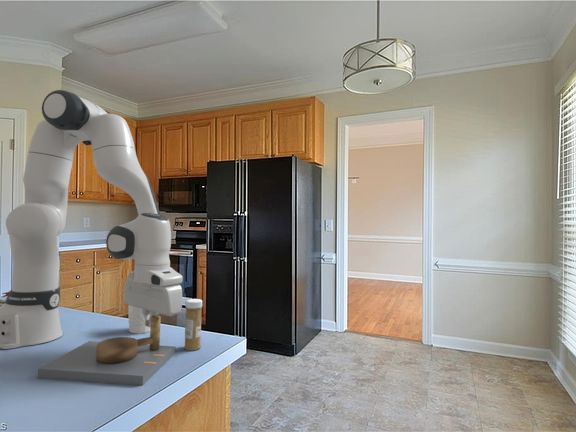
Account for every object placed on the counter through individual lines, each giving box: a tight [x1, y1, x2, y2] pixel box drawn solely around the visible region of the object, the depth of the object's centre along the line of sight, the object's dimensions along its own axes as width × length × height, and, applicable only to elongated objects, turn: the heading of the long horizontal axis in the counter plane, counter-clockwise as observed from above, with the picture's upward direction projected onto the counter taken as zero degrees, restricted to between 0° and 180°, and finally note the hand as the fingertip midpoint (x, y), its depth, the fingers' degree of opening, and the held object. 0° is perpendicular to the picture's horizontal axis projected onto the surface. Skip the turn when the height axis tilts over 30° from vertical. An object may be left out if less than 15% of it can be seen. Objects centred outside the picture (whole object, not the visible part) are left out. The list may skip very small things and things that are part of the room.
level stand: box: [36, 340, 176, 386], centre depth 86 cm, size 24×18×2 cm
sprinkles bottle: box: [184, 298, 203, 351], centre depth 99 cm, size 5×5×14 cm
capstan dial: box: [96, 315, 162, 363], centre depth 87 cm, size 15×9×8 cm, turn 129°
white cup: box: [127, 305, 150, 335], centre depth 112 cm, size 8×8×10 cm
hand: (150, 326), depth 93 cm, fingers closed
